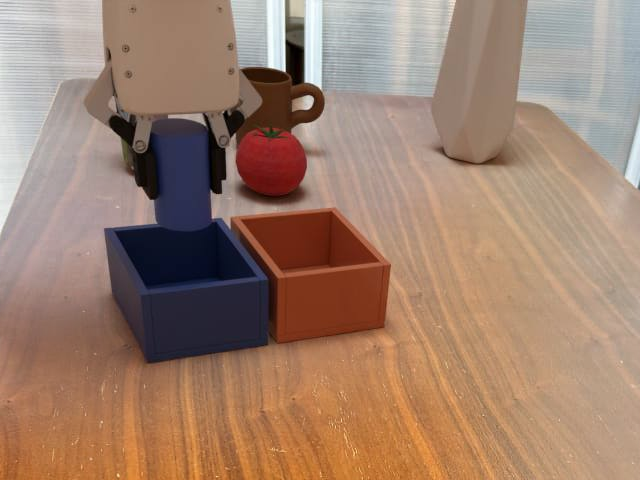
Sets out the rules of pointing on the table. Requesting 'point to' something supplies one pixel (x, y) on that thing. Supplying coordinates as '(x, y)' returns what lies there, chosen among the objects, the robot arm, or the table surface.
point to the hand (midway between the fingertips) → (181, 189)
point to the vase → (479, 78)
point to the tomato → (271, 161)
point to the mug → (279, 101)
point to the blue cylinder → (181, 174)
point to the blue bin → (187, 290)
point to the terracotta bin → (316, 272)
